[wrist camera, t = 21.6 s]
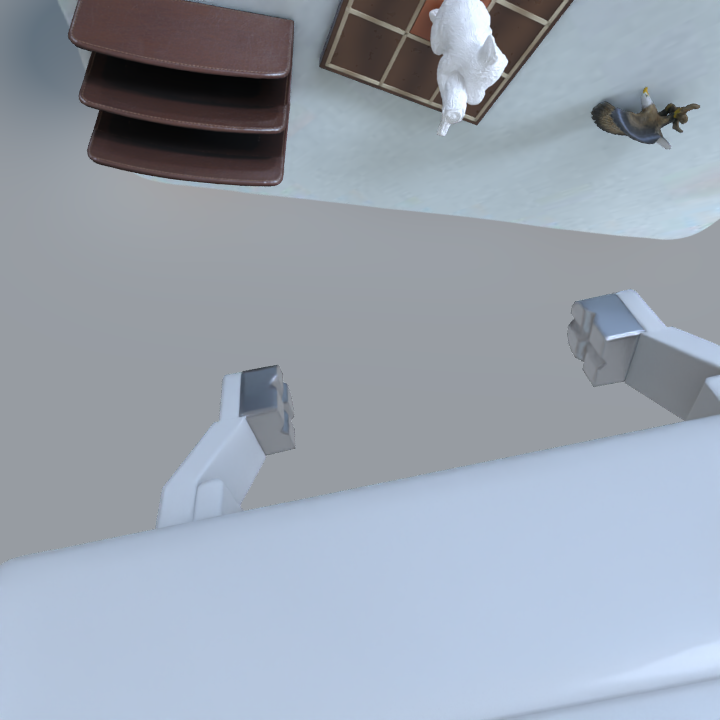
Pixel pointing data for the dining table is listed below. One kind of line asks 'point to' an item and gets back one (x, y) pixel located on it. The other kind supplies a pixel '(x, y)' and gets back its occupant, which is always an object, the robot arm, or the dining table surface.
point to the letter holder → (186, 89)
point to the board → (427, 45)
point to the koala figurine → (463, 56)
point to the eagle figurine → (641, 120)
